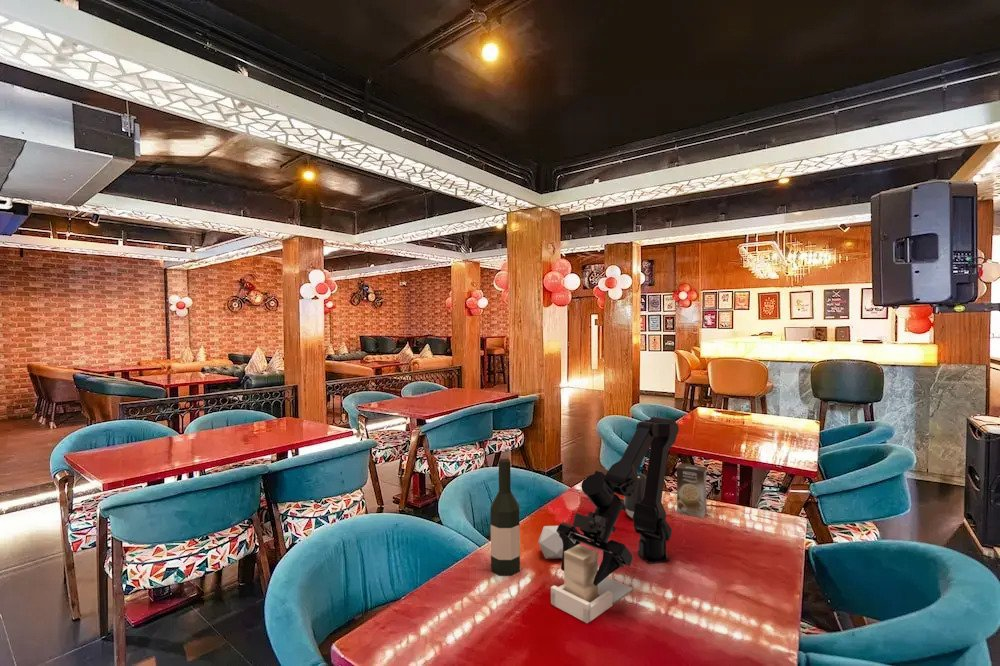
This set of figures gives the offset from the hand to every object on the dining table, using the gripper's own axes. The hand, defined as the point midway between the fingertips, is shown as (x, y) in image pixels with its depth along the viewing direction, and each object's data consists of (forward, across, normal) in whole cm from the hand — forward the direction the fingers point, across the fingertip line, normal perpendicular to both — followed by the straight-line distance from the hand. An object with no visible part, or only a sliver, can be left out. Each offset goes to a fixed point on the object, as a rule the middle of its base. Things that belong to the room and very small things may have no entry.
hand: (578, 577), depth 110 cm
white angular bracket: (+4, 0, +6) cm, 7 cm away
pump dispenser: (-36, -18, +46) cm, 61 cm away
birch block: (+4, 0, +6) cm, 7 cm away
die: (-6, -20, +16) cm, 26 cm away
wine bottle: (+5, -25, +6) cm, 26 cm away
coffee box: (-48, -7, +58) cm, 75 cm away
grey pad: (-3, 0, +13) cm, 13 cm away
